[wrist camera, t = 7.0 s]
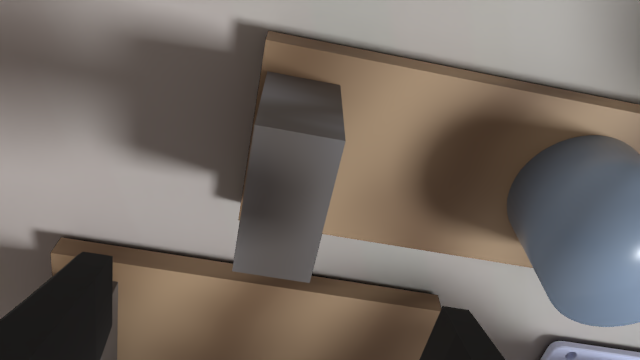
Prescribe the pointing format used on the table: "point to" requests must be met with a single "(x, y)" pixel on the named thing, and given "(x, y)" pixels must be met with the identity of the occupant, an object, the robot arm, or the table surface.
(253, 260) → the strip
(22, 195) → the table surface
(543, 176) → the blue-grey rounded block
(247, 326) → the strip empty
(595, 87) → the table surface
